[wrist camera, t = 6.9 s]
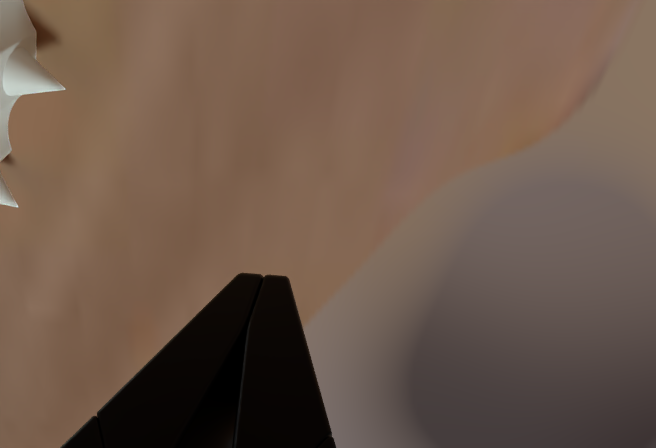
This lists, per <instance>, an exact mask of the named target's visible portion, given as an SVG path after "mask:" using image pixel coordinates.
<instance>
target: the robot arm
mask: <svg viewBox="0 0 656 448" xmlns="http://www.w3.org/2000/svg"><path fill="white" fill-rule="evenodd" d="M97 417H98V418H97ZM60 448H336V445H335V442H334V439H333V437H332V432H331V428H330V425H329V421H328V418H327V414H326V411H325V407H324V403H323V399H322V396H321V392H320V389H319V386H318V382H317V378H316V374H315V371H314V367H313V364H312V360H311V356H310V353H309V349H308V346H307V342H306V338H305V335H304V331H303V328H302V324H301V320H300V317H299V313H298V310H297V306H296V302H295V299H294V295H293V292H292V288H291V284H290V281H289V279H288V277H286V276H278V275H266V276H265V277H263V276H262V275H261V274H251V273H240V274H238V275H237V276H236V277H235V278H234V279H233V280H232V281H231V282H230V283H229V284H228V285H227V286H226V287H225V288H223V289H222V290H221V291H220V292H219V293H218V294H217V295H216V296H215V297H214V298H213V299H212V300H211V301H210V302H209V303H208V304H207V305H206V306H205V307H204V308H203V309H202V310H201V311H200V312H199V313H198V314H197V315H196V316H195V317H194V318H193V319H192V320H191V321H190V322H189V323H188V324H187V325H186V326H185V327H184V328H183V329H182V330H181V331H180V332H179V333H178V334H177V335H176V336H175V337H173V338H172V339H171V340H170V341H169V342H168V343H167V344H166V345H165V346H164V347H163V348H162V349H161V350H160V351H159V352H158V353H157V354H156V355H155V356H154V357H153V358H152V359H151V360H150V361H149V362H148V363H147V364H146V365H145V366H144V367H143V368H142V369H141V370H140V371H139V372H138V373H137V374H136V375H135V376H134V377H133V378H132V379H131V380H130V381H129V382H128V383H127V384H126V385H125V386H124V387H122V388H121V389H120V390H119V391H118V392H117V393H116V394H115V395H114V396H113V397H112V398H111V399H110V400H109V401H108V402H107V403H106V404H105V405H104V406H103V407H102V408H101V409H100V410H99V411H98V412H97V416H93V417H92V418H91V419H90V420H89V421H88V422H86V423H85V424H84V425H83V426H82V427H81V428H80V429H79V430H78V431H77V432H76V433H75V434H74V435H73V436H72V437H71V438H70V439H69V440H68V441H67V442H66V443H65V444H64V445H62V446H61V447H60Z"/></svg>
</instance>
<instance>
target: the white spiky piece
mask: <svg viewBox="0 0 656 448" xmlns="http://www.w3.org/2000/svg"><path fill="white" fill-rule="evenodd" d="M36 39H37V32H36V30H35V28H34V26H33V24H32V22H31V20H30V18H29V16H28V14H27V11H26V9H25V6H24V3H23V0H0V162H1V161H2V160H3V159H4V158H5V157H6V156H7V155H8V154H9V153H10V152H11V150H12V148H11V145H10V141H9V136H8V119H9V115H10V111H11V109H12V107H13V105H14V103H15V101H16V100H17V99H18V98H19V97H20V96H21V95H24V94H33V93H41V92H50V91H59V90H66V89H65V88H64V87H63V86H62V85H61V84H60V83H59V82H58V81H57V80H56V79H55V78H54V77H53V76H52V75H51V74H50V73H49V72H48V71H47V70H46V69H45V68H44V67H43V66H42V65H41V64H40V63H39V62H38V61H37V60H36ZM0 204H4V205H8V206H13V207H18V205H17V203H16V201H15V199H14V197H13V195H12V193H11V191H10V189H9V187H8V185H7V183H6V181H5V179H4V178H3V176H2V174H1V172H0ZM18 208H19V207H18Z"/></svg>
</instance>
